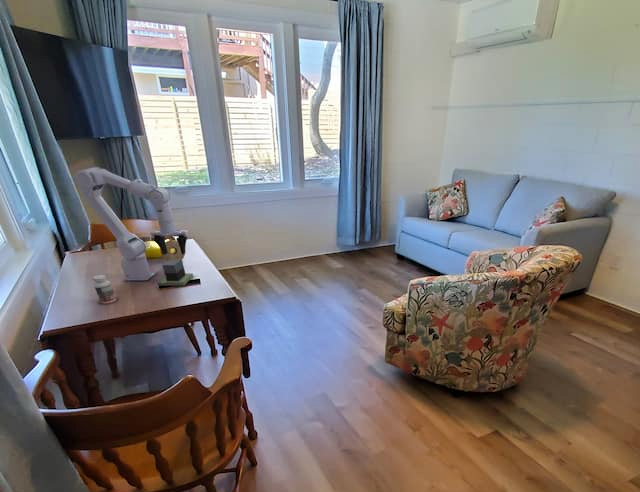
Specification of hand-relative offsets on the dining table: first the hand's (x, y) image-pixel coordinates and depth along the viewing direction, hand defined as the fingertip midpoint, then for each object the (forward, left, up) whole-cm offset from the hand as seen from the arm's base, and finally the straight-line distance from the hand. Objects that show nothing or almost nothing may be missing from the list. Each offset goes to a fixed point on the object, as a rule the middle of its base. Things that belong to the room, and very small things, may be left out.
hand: (174, 253), depth 165 cm
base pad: (0, -4, -10) cm, 11 cm away
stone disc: (-11, +20, -11) cm, 25 cm away
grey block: (0, -4, -6) cm, 7 cm away
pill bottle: (-18, -24, -11) cm, 32 cm away
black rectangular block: (0, -4, -9) cm, 10 cm away
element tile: (-25, +32, -11) cm, 42 cm away
